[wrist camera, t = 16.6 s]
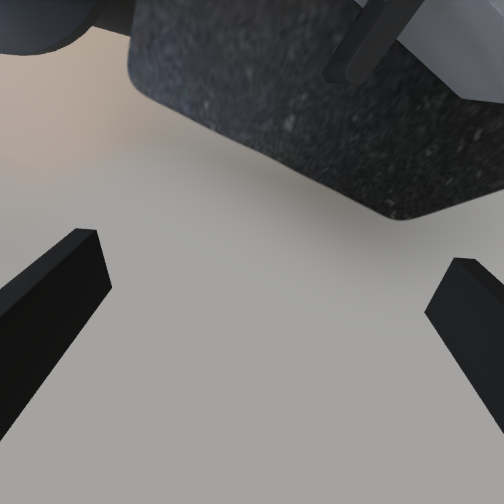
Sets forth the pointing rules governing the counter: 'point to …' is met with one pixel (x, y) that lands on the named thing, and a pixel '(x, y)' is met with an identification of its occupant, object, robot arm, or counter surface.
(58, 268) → the robot arm
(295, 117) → the counter surface
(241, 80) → the counter surface
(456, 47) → the oven door
